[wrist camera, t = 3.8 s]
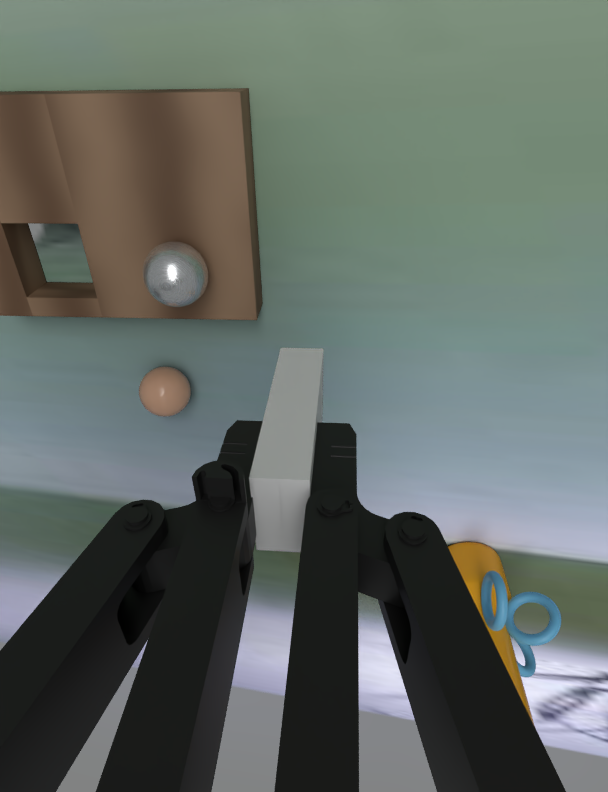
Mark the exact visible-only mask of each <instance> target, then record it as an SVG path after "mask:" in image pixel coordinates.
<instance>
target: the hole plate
mask: <svg viewBox="0 0 608 792" xmlns="http://www.w3.org/2000/svg"><path fill="white" fill-rule="evenodd" d="M28 223H64V224H78V226H79V230H80V234H81V238H82V242H83V245H84V249H85V253H86V257H87V261H88V265H89V268H90V272H91V276H92V280H93V283H67V282H46V279H45V276H44V273H43V270H42V266H41V263H40V260H39V257H38V254H37V251H36V247H35V244H34V241H33V238H32V235H31V232H30V229H29V225H28ZM172 241H174V242H182V243H185V244H187V245H190V246H191V247H193V248H194V249H195V250H197V251H198V252H199V253H200V255H201V256H202V257H203V259H204V261H205V263H206V266H207V270H208V283H207V286H206V289H205V291H204V293H203V294H202V295H201V297H200V298H199V299H198V300H196V301H195V302H193V303H192V304H190V305H187V306H182V307H172V306H168V305H165V304H162V303H160V302H159V301H157V300H156V299H155V298H154V297H153V296H152V295H151V294H150V293H149V292H148V290H147V288H146V286H145V284H144V280H143V264H144V261H145V259H146V257H147V255H148V254H149V253H150V251H151V250H152V249H154V248H155V247H156V246H158V245H160V244H162V243H165V242H172ZM262 303H263V302H262V287H261V272H260V256H259V241H258V226H257V211H256V195H255V180H254V165H253V149H252V134H251V119H250V104H249V88H243V89H167V90H91V91H15V92H0V315H3V316H59V317H115V318H171V319H227V320H257V318H258V315H259V312H260V309H261V306H262Z"/></svg>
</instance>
